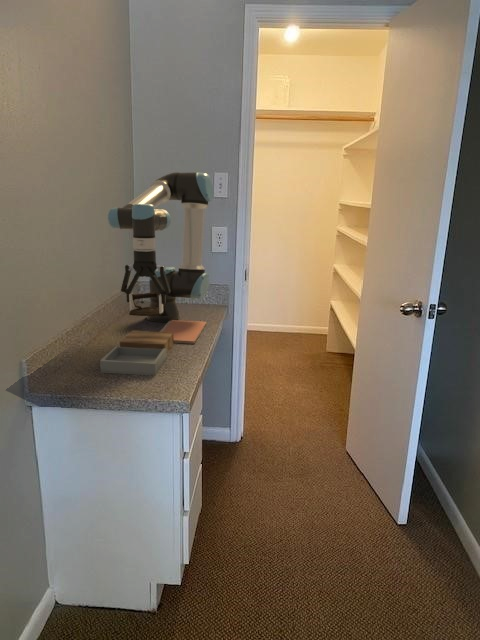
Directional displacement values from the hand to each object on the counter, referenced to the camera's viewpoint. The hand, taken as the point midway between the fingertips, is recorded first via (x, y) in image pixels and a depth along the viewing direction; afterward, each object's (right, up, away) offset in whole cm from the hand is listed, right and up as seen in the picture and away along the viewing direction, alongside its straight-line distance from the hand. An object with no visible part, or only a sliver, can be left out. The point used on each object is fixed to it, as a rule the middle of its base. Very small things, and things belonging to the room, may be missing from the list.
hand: (146, 311), depth 162 cm
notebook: (+9, -9, +25) cm, 28 cm away
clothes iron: (-1, -1, 0) cm, 1 cm away
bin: (-2, -18, -11) cm, 21 cm away
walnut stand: (0, -14, +4) cm, 15 cm away
